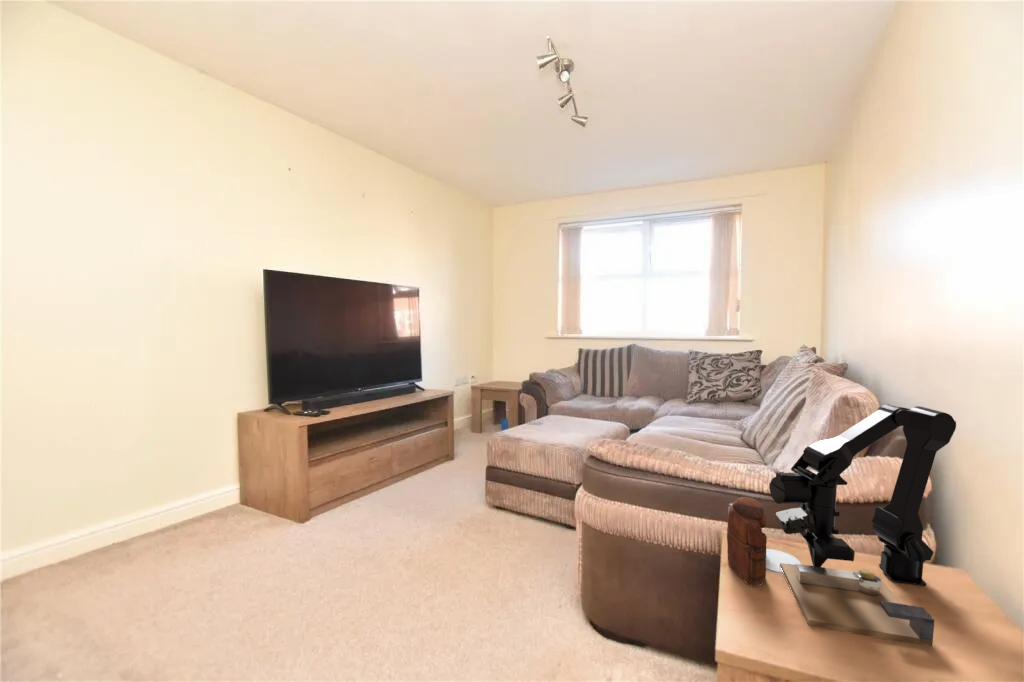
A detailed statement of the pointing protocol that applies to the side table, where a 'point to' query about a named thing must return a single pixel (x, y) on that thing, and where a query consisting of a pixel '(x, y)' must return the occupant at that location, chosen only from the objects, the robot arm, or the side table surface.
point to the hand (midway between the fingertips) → (816, 567)
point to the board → (850, 609)
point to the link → (838, 579)
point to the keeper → (912, 618)
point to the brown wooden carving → (747, 540)
